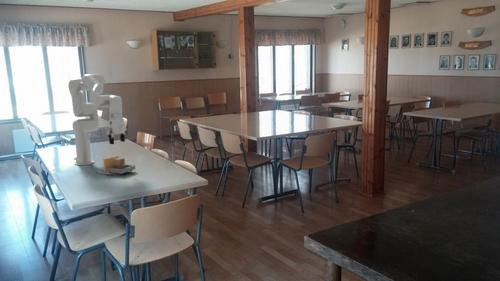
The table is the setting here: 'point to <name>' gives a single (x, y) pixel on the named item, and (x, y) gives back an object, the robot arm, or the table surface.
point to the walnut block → (118, 163)
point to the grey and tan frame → (109, 167)
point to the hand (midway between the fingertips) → (117, 142)
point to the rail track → (115, 174)
